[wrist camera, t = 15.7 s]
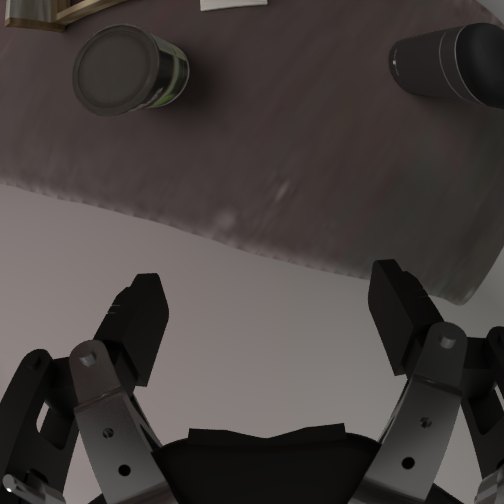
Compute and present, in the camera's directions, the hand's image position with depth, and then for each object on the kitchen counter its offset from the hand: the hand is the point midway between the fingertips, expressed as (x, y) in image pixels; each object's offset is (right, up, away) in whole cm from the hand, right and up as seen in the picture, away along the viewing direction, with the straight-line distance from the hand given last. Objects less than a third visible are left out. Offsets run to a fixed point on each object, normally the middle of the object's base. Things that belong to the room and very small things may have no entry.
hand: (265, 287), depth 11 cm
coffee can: (-14, +27, +25) cm, 39 cm away
